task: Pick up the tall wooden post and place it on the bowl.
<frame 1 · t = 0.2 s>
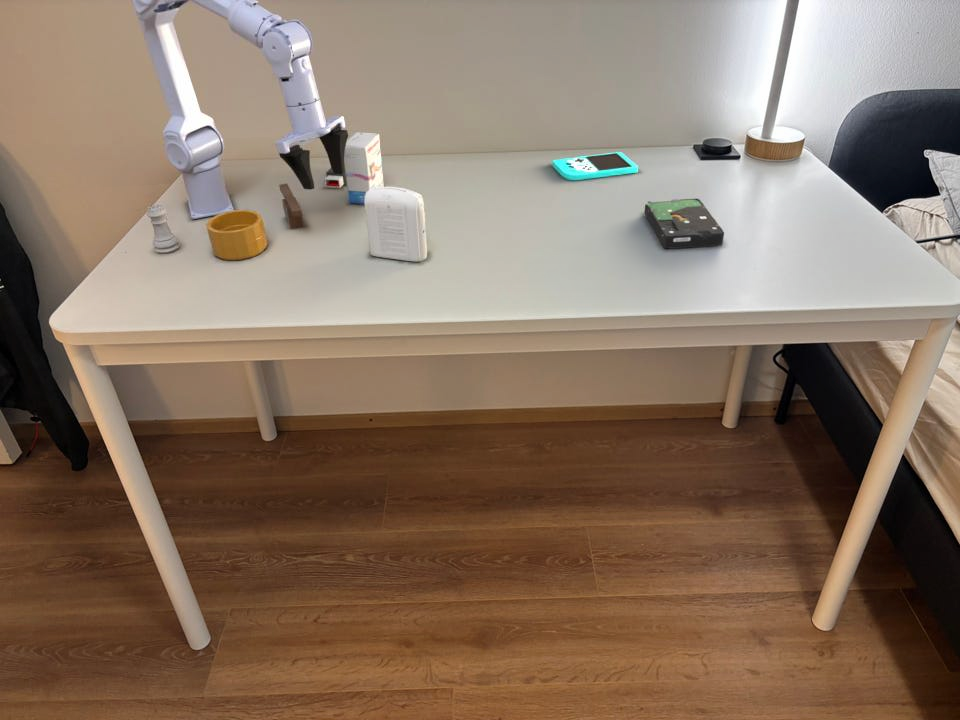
hand: (324, 180, 130), 10 cm above the table, tool pointing down, fingers open, 7 cm apart
tall wooden post: (294, 222, 141), on the table
ink box: (367, 196, 151), on the table
photo printer: (399, 256, 129), on the table
rook chess piece: (167, 249, 134), on the table
bowl: (241, 249, 133), on the table
handheld game console: (594, 169, 159), on the table
usb drive: (343, 178, 159), on the table
disk drive: (681, 230, 133), on the table
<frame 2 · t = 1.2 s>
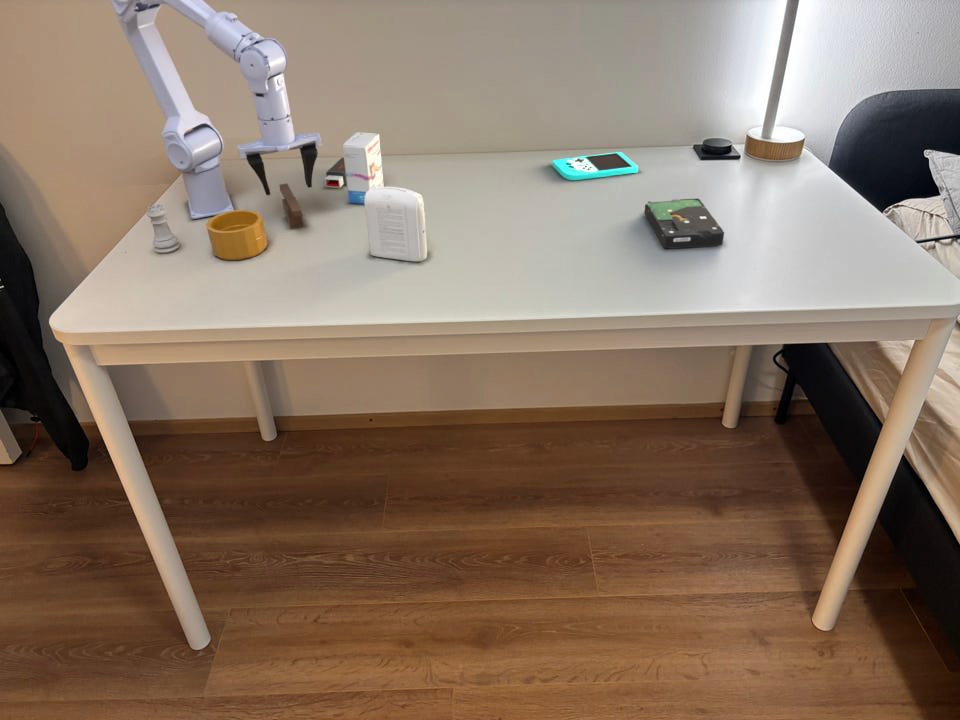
hand: (288, 189, 137), 7 cm above the table, tool pointing down, fingers open, 7 cm apart
nothing on the table moved.
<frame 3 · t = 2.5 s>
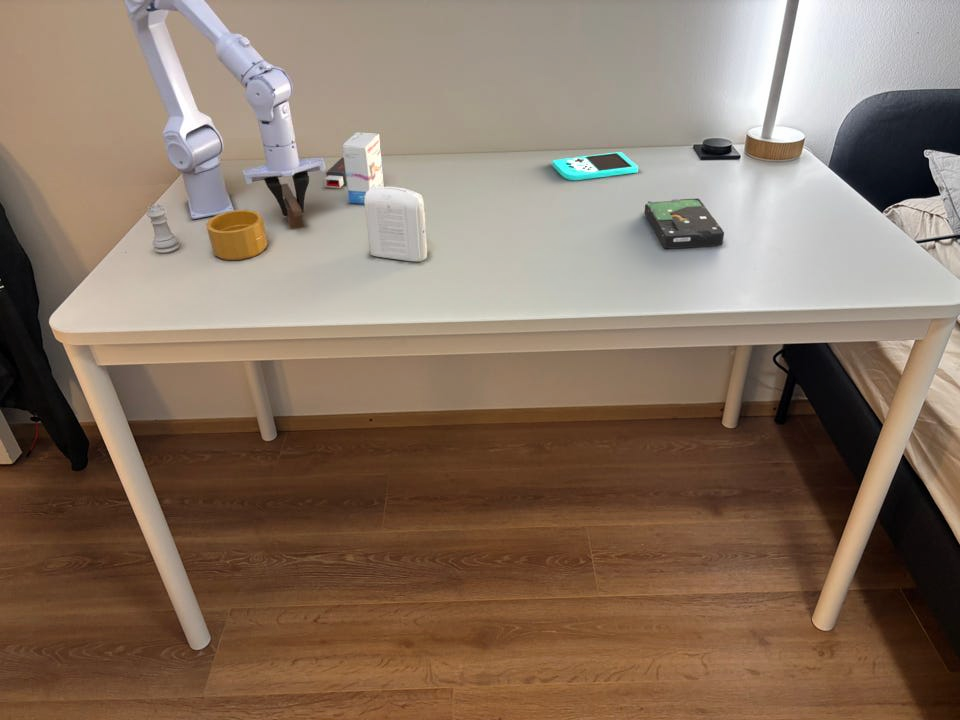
hand: (292, 212, 140), 2 cm above the table, tool pointing down, fingers closed on tall wooden post, 2 cm apart
tall wooden post: (294, 222, 141), on the table, touching gripper
everything else where it was.
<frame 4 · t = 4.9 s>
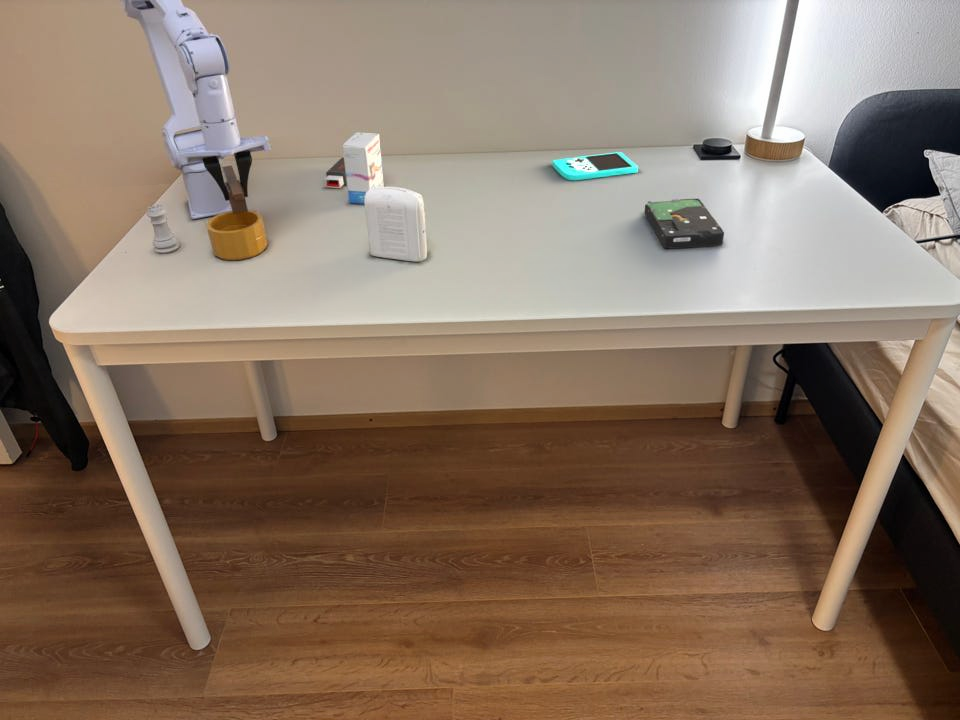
hand: (236, 196, 128), 9 cm above the table, tool pointing down, fingers closed on tall wooden post, 2 cm apart
tall wooden post: (238, 207, 129), point 7 cm above the table, touching gripper
everything else where it was.
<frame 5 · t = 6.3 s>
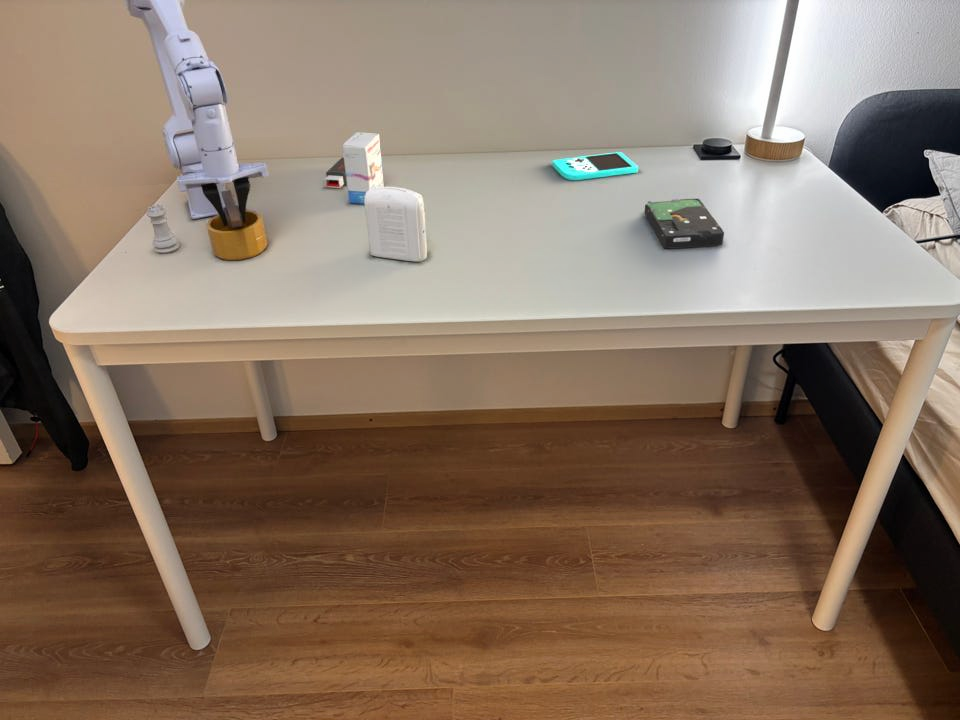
hand: (234, 221, 130), 5 cm above the table, tool pointing down, fingers closed on tall wooden post, 2 cm apart
tall wooden post: (237, 232, 131), point 3 cm above the table, touching gripper
everything else where it was.
when the fingers open (3 cm above the table, at t = 7.3 s): tall wooden post stays where it is, resting on bowl.
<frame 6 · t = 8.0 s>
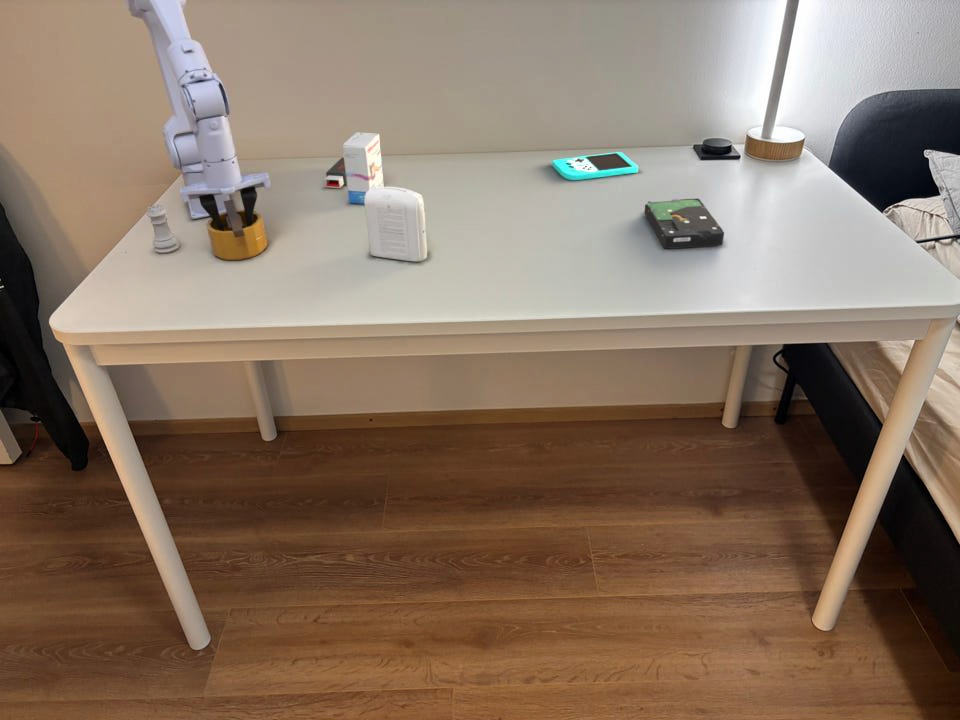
hand: (236, 231, 131), 3 cm above the table, tool pointing down, fingers open, 4 cm apart
tall wooden post: (239, 241, 132), point 1 cm above the table, touching bowl
everything else where it was.
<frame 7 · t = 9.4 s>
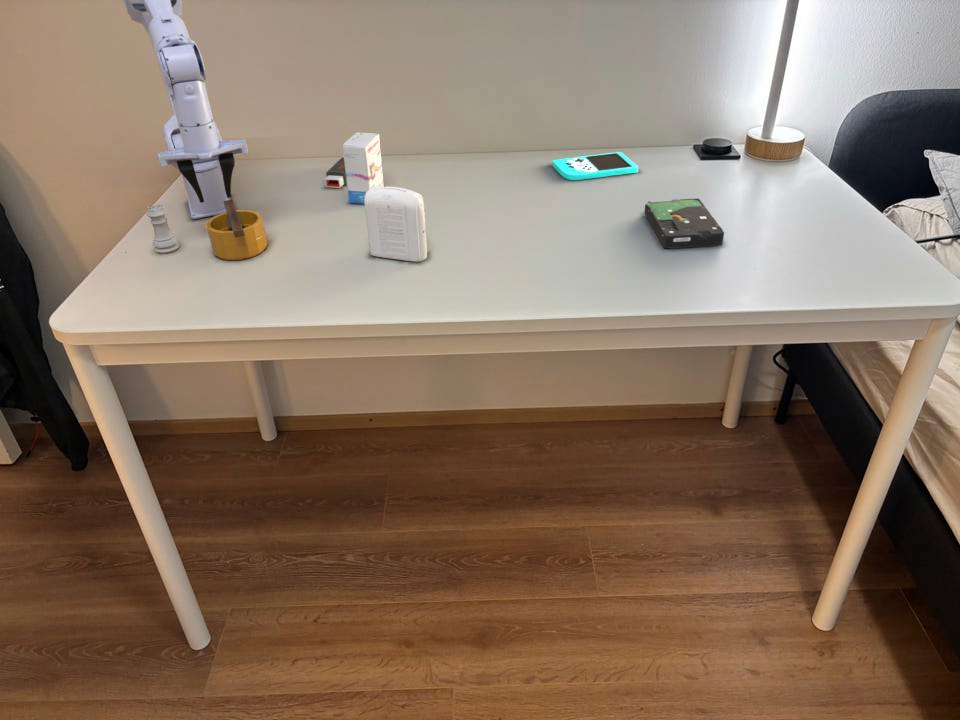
hand: (215, 198, 132), 8 cm above the table, tool pointing down, fingers open, 4 cm apart
nothing on the table moved.
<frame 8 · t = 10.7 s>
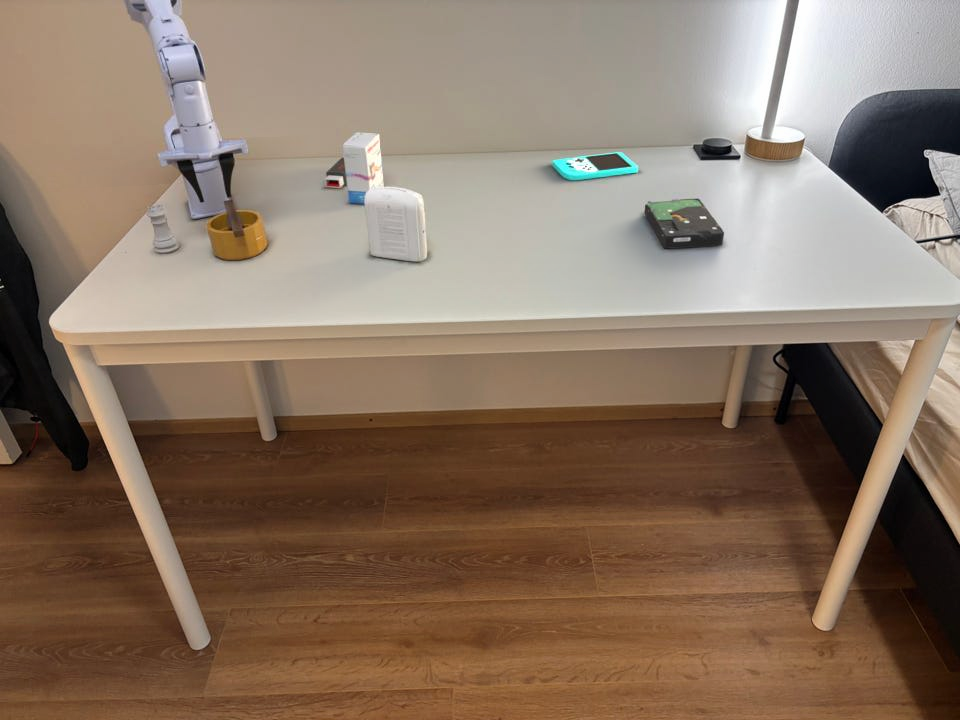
hand: (215, 198, 132), 8 cm above the table, tool pointing down, fingers open, 4 cm apart
nothing on the table moved.
at the end: tall wooden post 0.1 cm from the bowl (horizontally); tall wooden post point 1.5 cm above the table; tall wooden post tilted 0° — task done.
